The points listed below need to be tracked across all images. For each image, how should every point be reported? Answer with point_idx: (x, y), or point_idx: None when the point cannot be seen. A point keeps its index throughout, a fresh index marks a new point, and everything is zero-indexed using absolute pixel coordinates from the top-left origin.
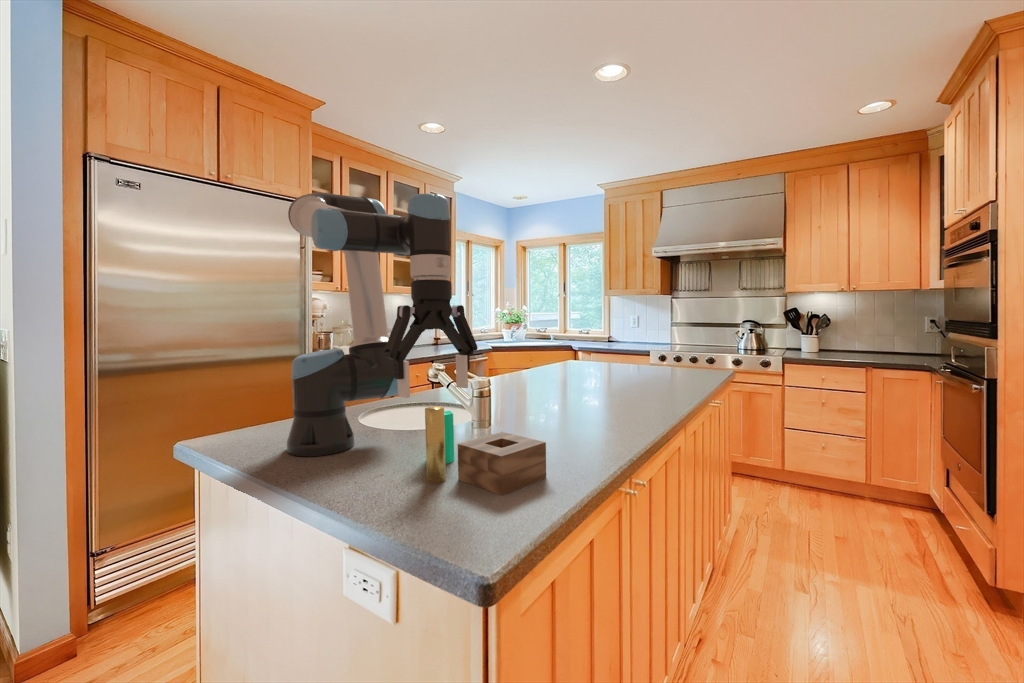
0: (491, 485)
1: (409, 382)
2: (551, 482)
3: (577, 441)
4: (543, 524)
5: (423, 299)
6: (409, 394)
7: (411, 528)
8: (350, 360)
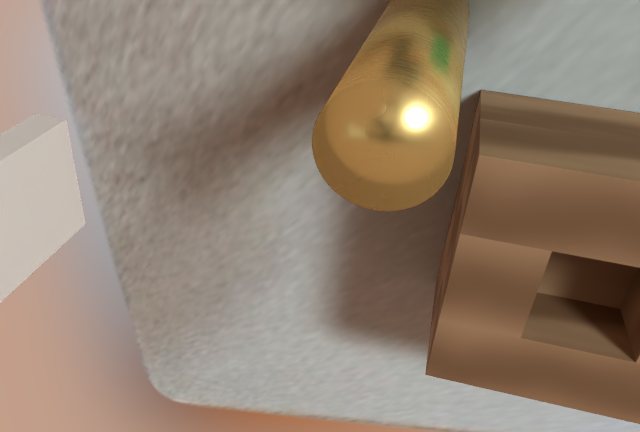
0: (443, 259)
1: (8, 294)
2: None
3: None
4: (351, 409)
5: None
6: (68, 234)
7: (149, 212)
8: None
